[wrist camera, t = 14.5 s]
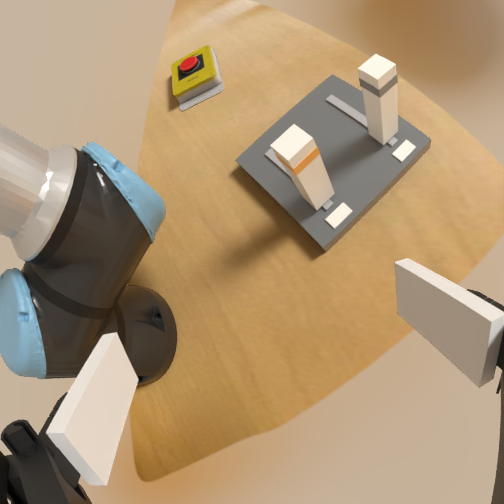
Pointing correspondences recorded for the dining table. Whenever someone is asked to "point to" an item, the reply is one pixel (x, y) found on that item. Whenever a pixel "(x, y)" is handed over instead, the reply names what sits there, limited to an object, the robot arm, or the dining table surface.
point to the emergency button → (196, 77)
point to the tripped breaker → (304, 165)
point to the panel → (335, 159)
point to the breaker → (380, 97)
